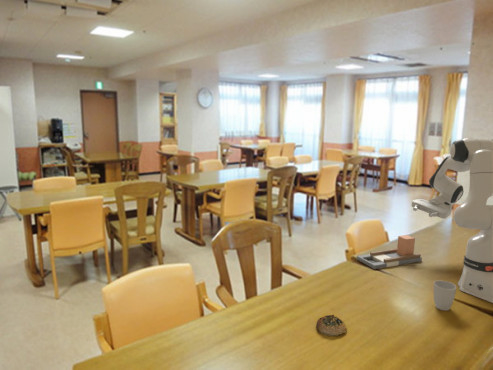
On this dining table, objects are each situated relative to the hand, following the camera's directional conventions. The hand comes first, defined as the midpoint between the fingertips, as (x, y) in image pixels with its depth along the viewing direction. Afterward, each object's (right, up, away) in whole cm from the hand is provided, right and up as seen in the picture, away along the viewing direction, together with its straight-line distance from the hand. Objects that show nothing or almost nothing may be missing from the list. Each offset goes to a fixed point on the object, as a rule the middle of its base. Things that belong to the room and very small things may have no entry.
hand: (421, 212), depth 203 cm
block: (-9, -23, +1) cm, 25 cm away
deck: (-18, -26, -2) cm, 32 cm away
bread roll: (-66, -38, -68) cm, 102 cm away
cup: (-16, -35, -52) cm, 65 cm away
